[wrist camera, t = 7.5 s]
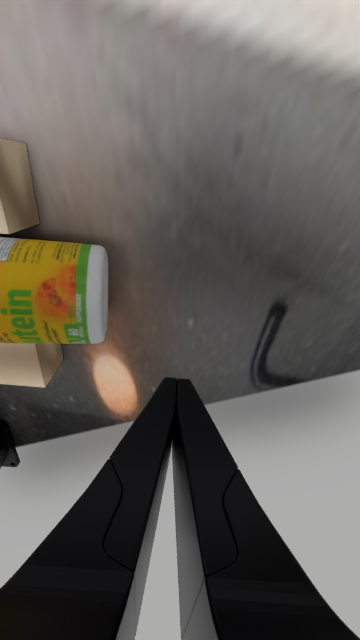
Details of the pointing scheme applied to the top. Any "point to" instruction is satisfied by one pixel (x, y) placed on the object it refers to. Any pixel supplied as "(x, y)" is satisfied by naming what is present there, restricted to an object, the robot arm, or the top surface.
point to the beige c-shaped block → (8, 217)
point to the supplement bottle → (52, 292)
